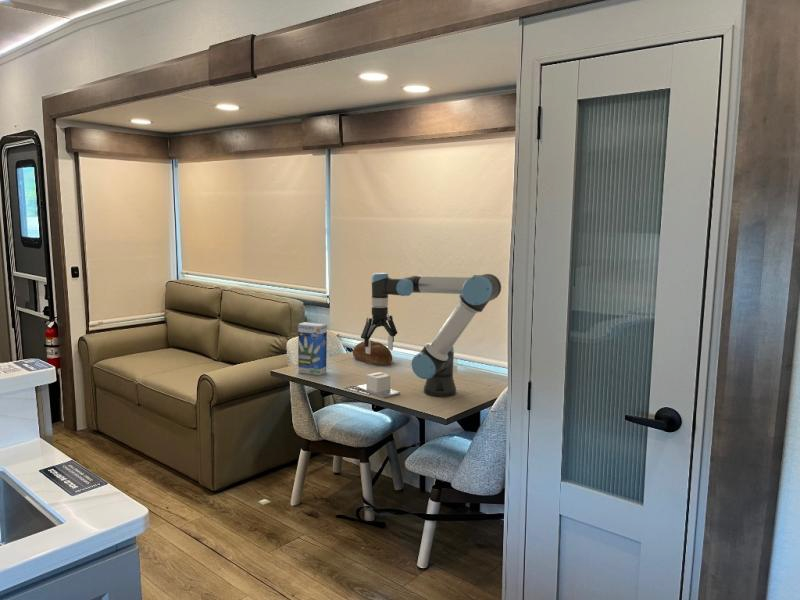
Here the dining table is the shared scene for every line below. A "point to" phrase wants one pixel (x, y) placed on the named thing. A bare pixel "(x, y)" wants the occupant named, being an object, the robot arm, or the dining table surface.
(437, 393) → the robot arm
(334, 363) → the dining table surface
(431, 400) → the dining table surface
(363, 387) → the duct stub
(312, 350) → the string lights box
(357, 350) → the bread
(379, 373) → the white cardboard box
